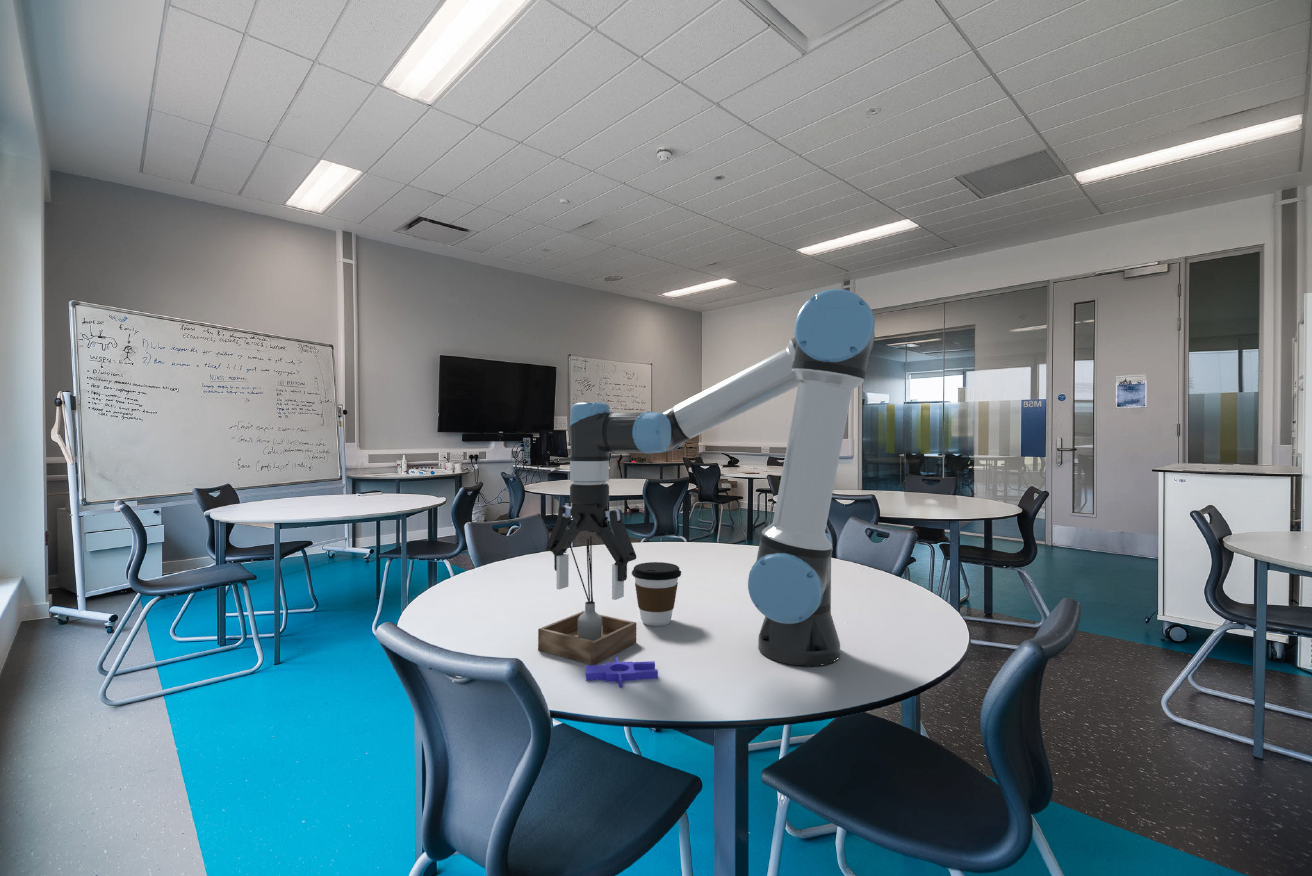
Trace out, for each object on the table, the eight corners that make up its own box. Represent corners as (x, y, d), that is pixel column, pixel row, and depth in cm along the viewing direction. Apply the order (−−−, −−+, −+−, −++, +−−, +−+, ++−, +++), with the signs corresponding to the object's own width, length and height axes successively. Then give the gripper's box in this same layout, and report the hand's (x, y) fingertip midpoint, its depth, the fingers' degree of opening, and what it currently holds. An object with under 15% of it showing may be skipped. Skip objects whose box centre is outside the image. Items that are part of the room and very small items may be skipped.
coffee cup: (672, 632, 119) (673, 574, 119) (623, 626, 123) (624, 570, 123) (686, 616, 130) (687, 563, 130) (641, 611, 133) (641, 560, 133)
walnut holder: (636, 642, 113) (636, 622, 113) (594, 665, 102) (594, 642, 102) (583, 630, 120) (583, 611, 120) (538, 650, 109) (538, 629, 109)
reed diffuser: (600, 650, 106) (601, 542, 106) (563, 649, 106) (564, 542, 106) (604, 631, 116) (605, 532, 116) (570, 631, 116) (571, 532, 116)
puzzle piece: (660, 688, 94) (660, 678, 94) (586, 691, 92) (586, 681, 92) (652, 664, 103) (652, 655, 103) (585, 667, 102) (585, 658, 102)
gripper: (654, 484, 107) (654, 597, 107) (554, 479, 120) (553, 580, 120) (632, 487, 101) (631, 607, 101) (528, 481, 114) (528, 587, 114)
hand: (589, 593), depth 111 cm, fingers open, 13 cm apart
